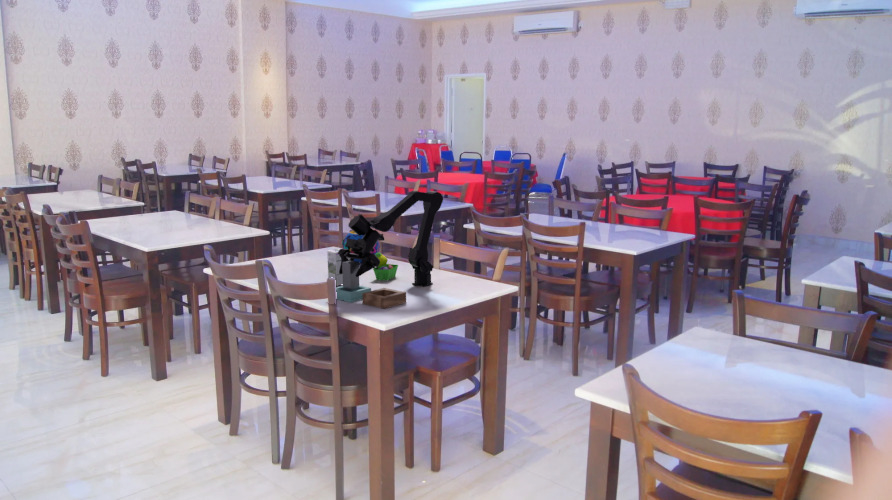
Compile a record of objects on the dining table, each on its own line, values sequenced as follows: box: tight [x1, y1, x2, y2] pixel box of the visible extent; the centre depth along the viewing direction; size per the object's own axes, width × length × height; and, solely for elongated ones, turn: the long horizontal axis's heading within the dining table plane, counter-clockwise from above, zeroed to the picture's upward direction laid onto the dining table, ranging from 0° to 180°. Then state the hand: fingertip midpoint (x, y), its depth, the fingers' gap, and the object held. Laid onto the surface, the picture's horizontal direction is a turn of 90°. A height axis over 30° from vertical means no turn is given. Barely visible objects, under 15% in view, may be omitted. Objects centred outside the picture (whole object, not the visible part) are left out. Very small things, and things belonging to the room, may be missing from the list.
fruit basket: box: [372, 252, 399, 281], centre depth 299 cm, size 11×9×11 cm
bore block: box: [362, 287, 407, 310], centre depth 257 cm, size 12×12×4 cm
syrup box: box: [326, 248, 343, 286], centre depth 287 cm, size 6×6×14 cm
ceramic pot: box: [341, 230, 381, 264], centre depth 333 cm, size 18×18×15 cm
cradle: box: [335, 284, 372, 303], centre depth 267 cm, size 13×13×3 cm
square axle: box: [342, 260, 360, 292], centre depth 266 cm, size 4×4×13 cm
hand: (348, 275), depth 265 cm, fingers open, 9 cm apart
